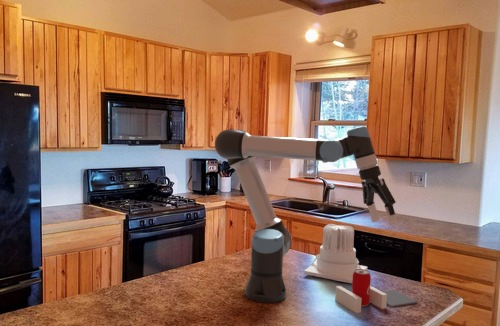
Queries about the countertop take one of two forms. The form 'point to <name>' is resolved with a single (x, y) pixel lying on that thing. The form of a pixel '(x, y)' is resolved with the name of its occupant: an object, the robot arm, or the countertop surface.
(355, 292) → the beverage can
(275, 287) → the robot arm
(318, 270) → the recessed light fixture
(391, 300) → the mat
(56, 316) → the countertop surface
